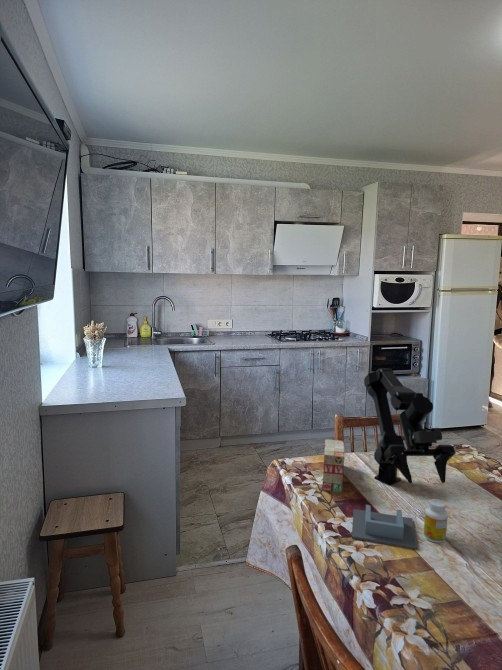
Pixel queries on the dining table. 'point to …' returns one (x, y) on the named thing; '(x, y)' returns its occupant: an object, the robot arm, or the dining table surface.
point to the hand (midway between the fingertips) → (427, 482)
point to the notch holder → (384, 528)
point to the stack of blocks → (333, 466)
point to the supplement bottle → (435, 521)
